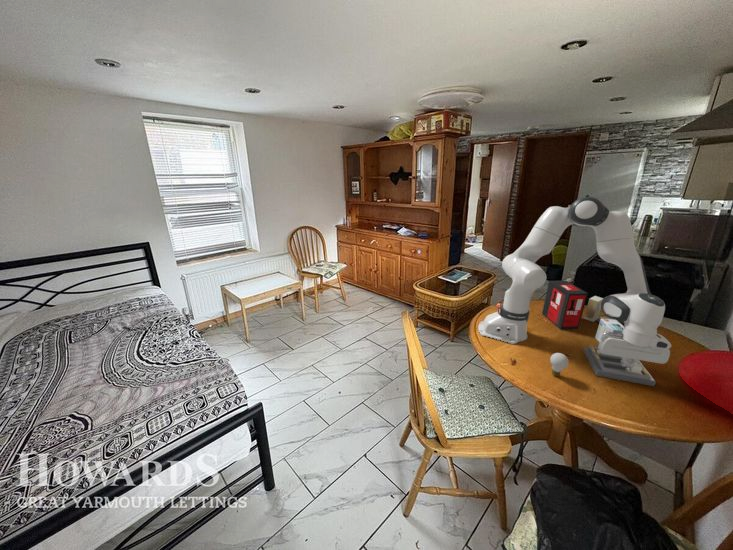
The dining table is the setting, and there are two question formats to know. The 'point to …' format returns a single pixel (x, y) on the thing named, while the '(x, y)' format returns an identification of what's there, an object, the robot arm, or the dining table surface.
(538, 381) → the dining table surface
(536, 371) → the dining table surface
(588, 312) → the skincare box
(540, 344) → the dining table surface
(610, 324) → the light bulb box
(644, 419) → the dining table surface
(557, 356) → the light bulb
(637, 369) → the tab front
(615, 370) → the switch bank
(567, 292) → the cleaning product box
